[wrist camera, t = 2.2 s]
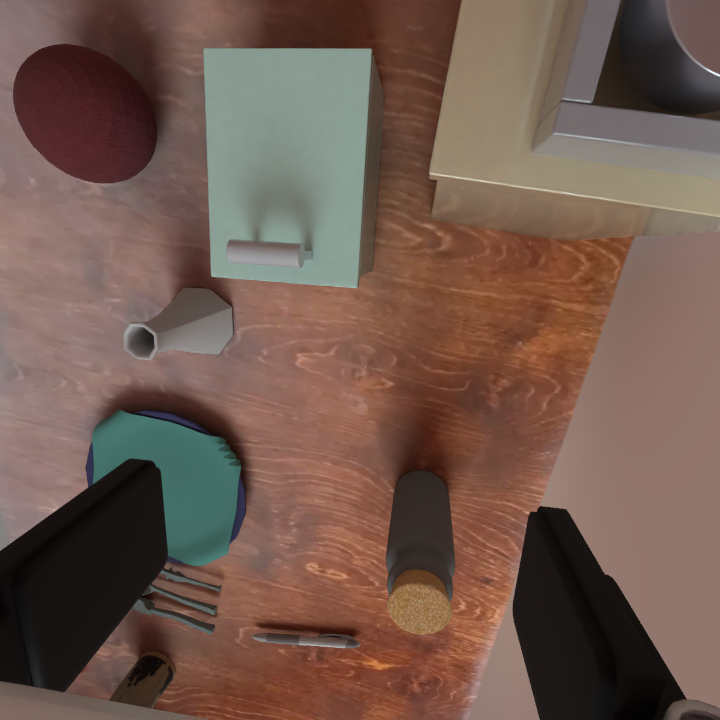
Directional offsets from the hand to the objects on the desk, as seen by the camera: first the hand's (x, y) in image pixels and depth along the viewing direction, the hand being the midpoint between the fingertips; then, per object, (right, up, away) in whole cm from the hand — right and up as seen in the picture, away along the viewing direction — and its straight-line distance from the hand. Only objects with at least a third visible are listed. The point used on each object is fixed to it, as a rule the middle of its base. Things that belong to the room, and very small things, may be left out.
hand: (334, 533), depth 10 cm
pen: (-6, -30, +42) cm, 52 cm away
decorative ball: (-21, +26, +29) cm, 44 cm away
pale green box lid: (-5, +18, +20) cm, 28 cm away
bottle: (+7, -10, +34) cm, 37 cm away
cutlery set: (-23, -15, +40) cm, 49 cm away
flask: (-16, +8, +33) cm, 38 cm away
